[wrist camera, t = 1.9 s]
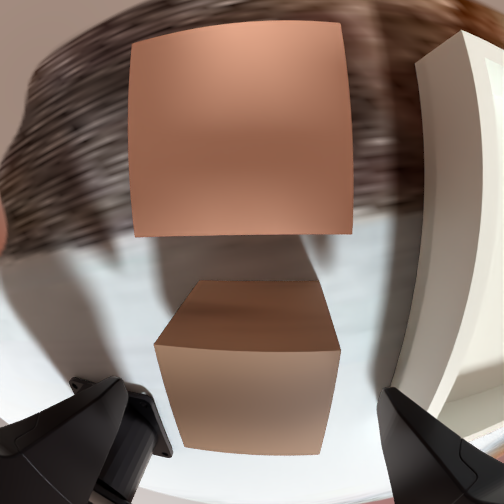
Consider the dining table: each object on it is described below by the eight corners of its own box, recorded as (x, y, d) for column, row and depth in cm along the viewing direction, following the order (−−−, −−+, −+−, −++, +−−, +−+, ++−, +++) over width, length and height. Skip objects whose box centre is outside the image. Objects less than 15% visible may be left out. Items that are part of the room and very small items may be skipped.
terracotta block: (320, 206, 11) (352, 234, 6) (194, 209, 11) (135, 237, 6) (316, 82, 9) (340, 22, 5) (190, 89, 10) (132, 43, 5)
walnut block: (311, 373, 13) (319, 454, 8) (211, 370, 13) (184, 446, 9) (318, 279, 11) (341, 350, 7) (199, 279, 12) (153, 344, 7)
